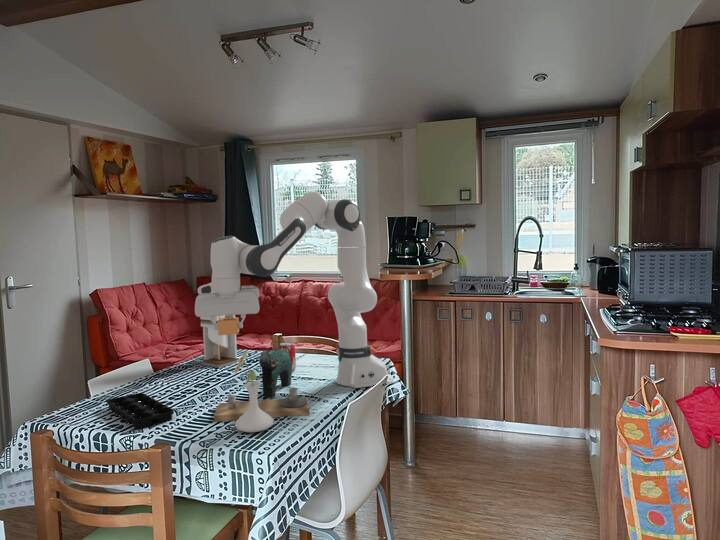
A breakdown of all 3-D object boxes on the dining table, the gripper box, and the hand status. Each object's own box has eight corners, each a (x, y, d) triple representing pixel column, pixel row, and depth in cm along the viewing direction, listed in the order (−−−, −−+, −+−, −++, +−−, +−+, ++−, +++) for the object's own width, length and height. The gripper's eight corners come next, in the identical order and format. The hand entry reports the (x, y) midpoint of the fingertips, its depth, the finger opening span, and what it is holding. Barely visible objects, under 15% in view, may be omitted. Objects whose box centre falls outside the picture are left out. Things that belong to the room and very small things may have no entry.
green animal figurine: (272, 400, 182) (270, 344, 180) (256, 399, 184) (254, 343, 182) (295, 384, 201) (293, 333, 199) (280, 383, 202) (278, 333, 201)
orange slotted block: (239, 330, 170) (238, 317, 170) (237, 334, 164) (236, 320, 164) (220, 331, 169) (219, 318, 169) (218, 335, 163) (217, 321, 163)
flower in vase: (247, 420, 162) (243, 342, 160) (280, 423, 159) (277, 343, 157) (225, 436, 150) (221, 352, 148) (260, 439, 146) (256, 353, 145)
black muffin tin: (138, 400, 186) (137, 390, 186) (190, 415, 169) (189, 404, 169) (89, 415, 172) (89, 404, 172) (141, 433, 155) (140, 421, 155)
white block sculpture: (202, 364, 236) (198, 289, 233) (220, 359, 244) (217, 286, 242) (219, 367, 229) (215, 290, 227) (237, 362, 238) (234, 287, 235)
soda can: (298, 371, 219) (297, 343, 219) (283, 374, 215) (282, 346, 215) (291, 368, 225) (290, 341, 224) (276, 370, 221) (275, 343, 220)
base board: (308, 402, 178) (307, 382, 177) (309, 414, 166) (308, 393, 165) (219, 409, 174) (218, 388, 173) (214, 421, 162) (213, 400, 161)
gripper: (259, 283, 170) (261, 325, 171) (195, 287, 167) (198, 328, 168) (258, 285, 164) (260, 328, 165) (192, 289, 161) (195, 332, 162)
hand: (228, 328), depth 166 cm, fingers closed on orange slotted block, 6 cm apart
